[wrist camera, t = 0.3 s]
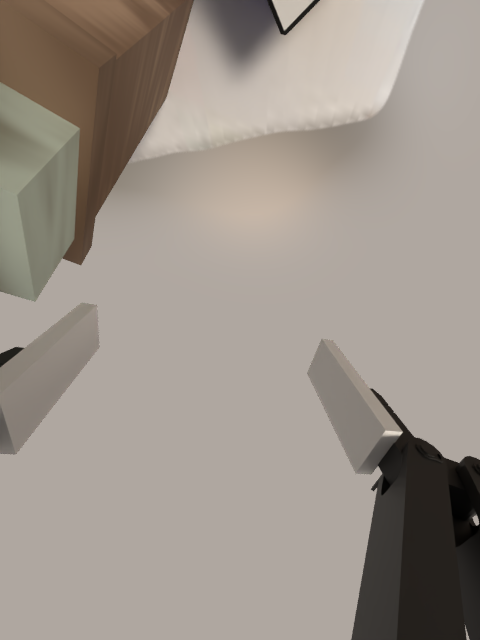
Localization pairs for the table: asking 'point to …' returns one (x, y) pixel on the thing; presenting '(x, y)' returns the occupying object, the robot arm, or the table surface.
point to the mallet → (34, 192)
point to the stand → (94, 80)
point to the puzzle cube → (290, 12)
